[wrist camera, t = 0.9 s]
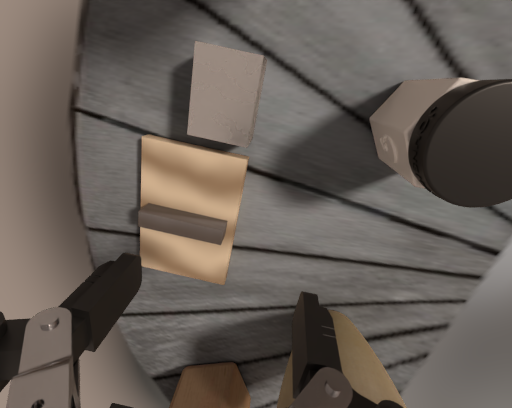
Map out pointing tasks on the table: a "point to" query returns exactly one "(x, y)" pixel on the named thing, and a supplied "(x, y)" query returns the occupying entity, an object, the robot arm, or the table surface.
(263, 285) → the table surface
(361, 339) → the plant pot
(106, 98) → the table surface
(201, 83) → the notched grey block
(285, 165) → the table surface
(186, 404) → the wooden block
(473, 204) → the jar
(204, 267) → the stand
